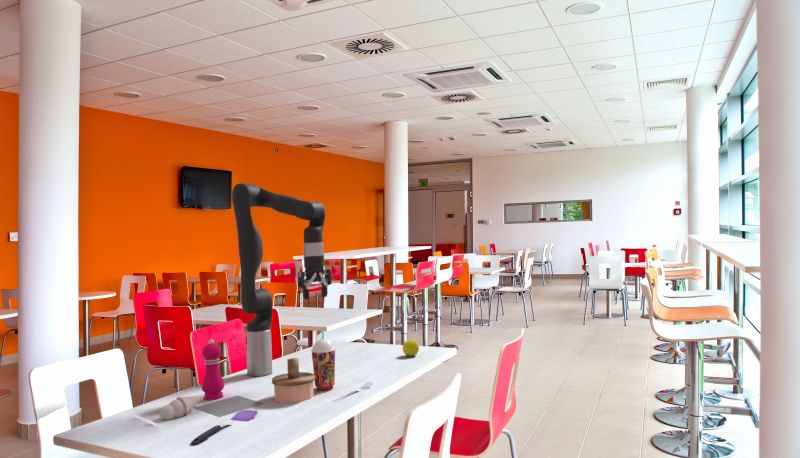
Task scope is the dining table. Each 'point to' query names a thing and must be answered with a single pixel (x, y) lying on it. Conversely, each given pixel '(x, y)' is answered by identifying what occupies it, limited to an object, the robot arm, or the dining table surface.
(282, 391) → the bowl
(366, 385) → the fork
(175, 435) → the dining table surface
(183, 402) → the ice cream cone
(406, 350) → the tennis ball
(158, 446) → the dining table surface
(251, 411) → the spatula
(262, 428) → the dining table surface
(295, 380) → the lid
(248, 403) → the mat
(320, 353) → the smoothie
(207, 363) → the pepper mill
